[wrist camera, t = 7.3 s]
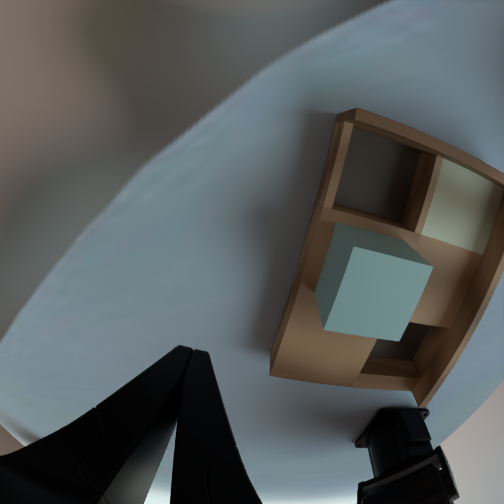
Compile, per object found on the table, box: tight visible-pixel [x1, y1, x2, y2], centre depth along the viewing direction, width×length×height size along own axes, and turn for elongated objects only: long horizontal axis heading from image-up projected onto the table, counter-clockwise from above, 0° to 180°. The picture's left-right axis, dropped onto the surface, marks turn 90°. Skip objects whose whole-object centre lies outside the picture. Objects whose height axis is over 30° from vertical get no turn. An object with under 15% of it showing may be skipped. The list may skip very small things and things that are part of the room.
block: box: [314, 222, 433, 341], centre depth 16 cm, size 4×4×4 cm
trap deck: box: [270, 108, 504, 408], centre depth 18 cm, size 18×13×4 cm
